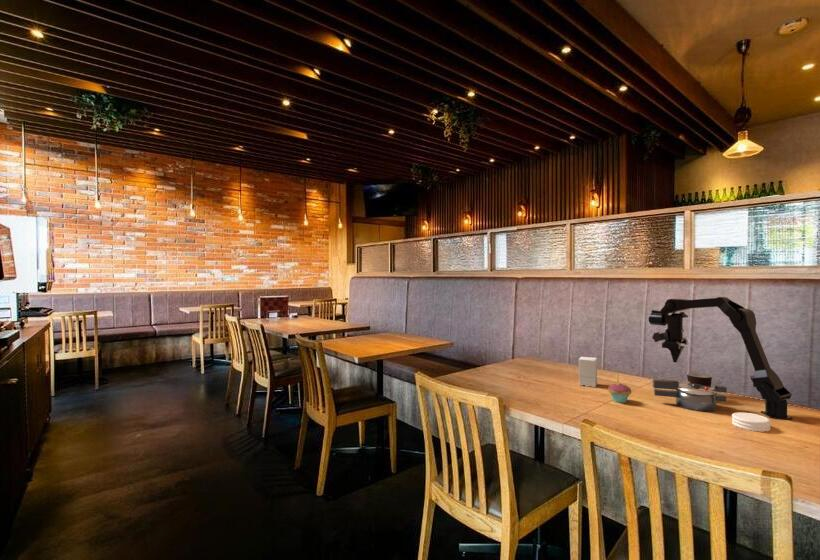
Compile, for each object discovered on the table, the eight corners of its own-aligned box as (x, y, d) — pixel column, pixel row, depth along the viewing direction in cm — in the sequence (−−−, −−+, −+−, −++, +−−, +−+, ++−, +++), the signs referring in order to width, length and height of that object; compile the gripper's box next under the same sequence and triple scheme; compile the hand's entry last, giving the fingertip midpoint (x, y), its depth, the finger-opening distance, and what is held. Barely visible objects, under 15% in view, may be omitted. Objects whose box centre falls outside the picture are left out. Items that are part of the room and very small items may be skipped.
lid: (718, 387, 162) (718, 380, 162) (733, 397, 149) (733, 389, 149) (649, 383, 169) (649, 376, 169) (658, 392, 156) (658, 384, 156)
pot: (719, 404, 161) (719, 389, 161) (731, 414, 149) (731, 398, 149) (651, 397, 169) (651, 383, 169) (657, 407, 157) (657, 392, 157)
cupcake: (625, 405, 160) (625, 375, 160) (604, 400, 166) (604, 371, 166) (634, 401, 165) (634, 372, 165) (613, 396, 172) (613, 368, 172)
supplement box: (597, 384, 192) (597, 357, 192) (595, 387, 186) (595, 360, 186) (581, 382, 196) (581, 356, 196) (578, 385, 190) (578, 358, 189)
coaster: (756, 434, 131) (756, 423, 131) (724, 423, 140) (724, 413, 140) (777, 430, 134) (777, 420, 134) (745, 420, 143) (745, 410, 143)
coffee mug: (712, 403, 162) (712, 378, 162) (686, 399, 167) (686, 375, 167) (712, 396, 171) (712, 372, 171) (687, 393, 176) (687, 370, 176)
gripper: (659, 323, 191) (659, 356, 191) (648, 327, 177) (648, 362, 177) (687, 325, 183) (687, 360, 183) (678, 329, 170) (678, 366, 170)
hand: (675, 362), depth 178 cm, fingers closed
